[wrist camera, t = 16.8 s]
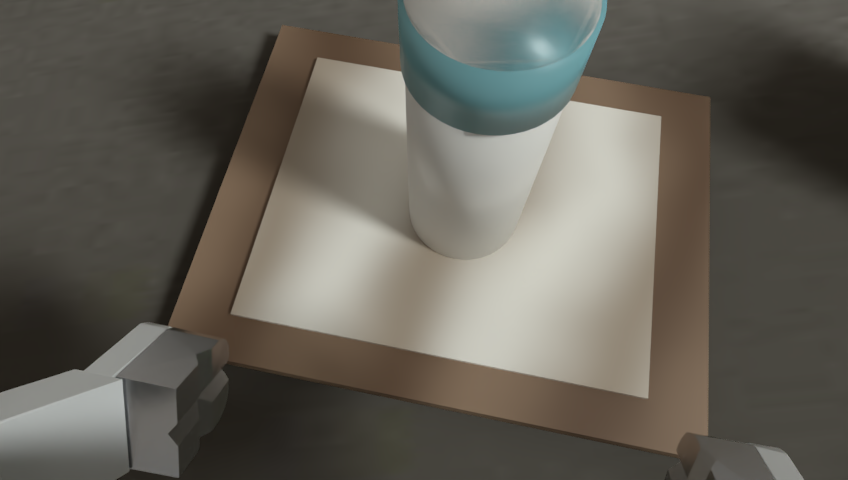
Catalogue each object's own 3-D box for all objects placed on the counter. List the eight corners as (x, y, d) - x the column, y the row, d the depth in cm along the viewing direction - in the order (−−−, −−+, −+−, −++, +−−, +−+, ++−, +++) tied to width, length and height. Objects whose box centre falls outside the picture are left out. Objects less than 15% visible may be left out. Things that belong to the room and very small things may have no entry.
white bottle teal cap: (395, 249, 20) (375, 55, 11) (419, 149, 21) (420, -96, 12) (512, 272, 20) (598, 92, 10) (528, 169, 21) (613, -67, 12)
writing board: (171, 352, 20) (157, 345, 18) (287, 41, 25) (281, 21, 24) (692, 461, 18) (710, 460, 17) (698, 111, 24) (712, 94, 23)
